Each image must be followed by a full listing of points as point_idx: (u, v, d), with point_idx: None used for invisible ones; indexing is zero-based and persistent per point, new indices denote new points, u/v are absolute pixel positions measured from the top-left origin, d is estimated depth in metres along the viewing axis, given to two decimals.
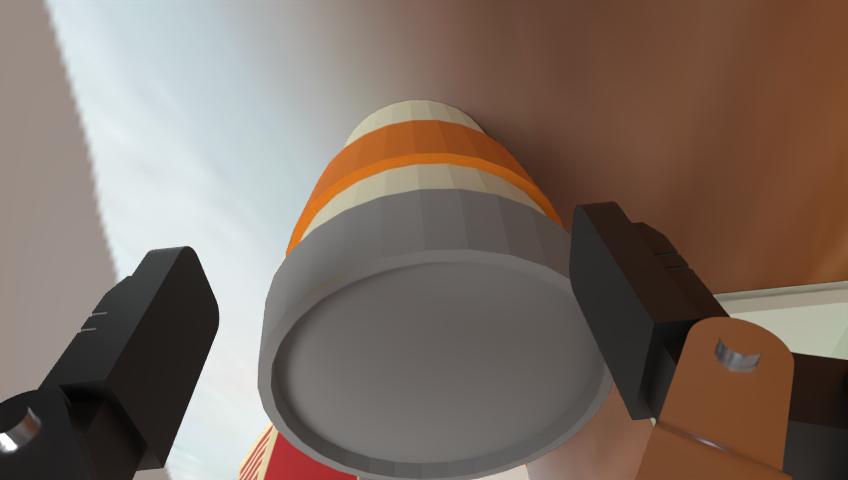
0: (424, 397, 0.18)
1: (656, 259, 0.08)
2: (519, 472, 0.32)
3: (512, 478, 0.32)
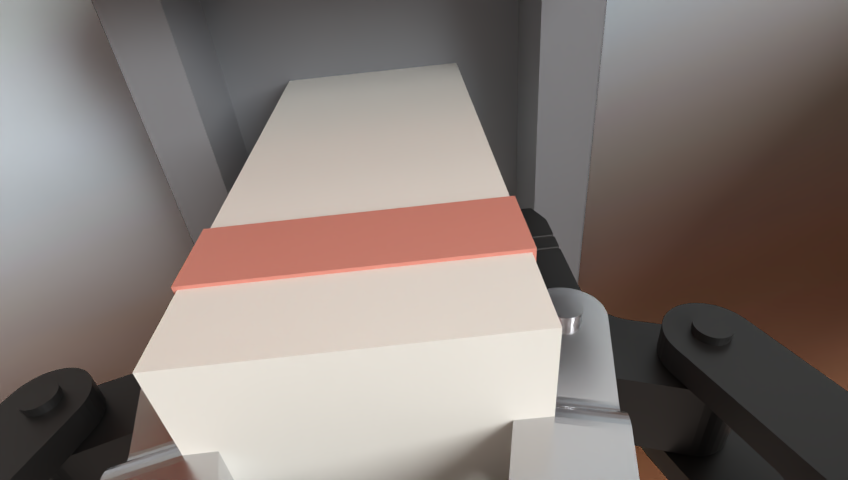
0: None
1: None
2: None
3: None
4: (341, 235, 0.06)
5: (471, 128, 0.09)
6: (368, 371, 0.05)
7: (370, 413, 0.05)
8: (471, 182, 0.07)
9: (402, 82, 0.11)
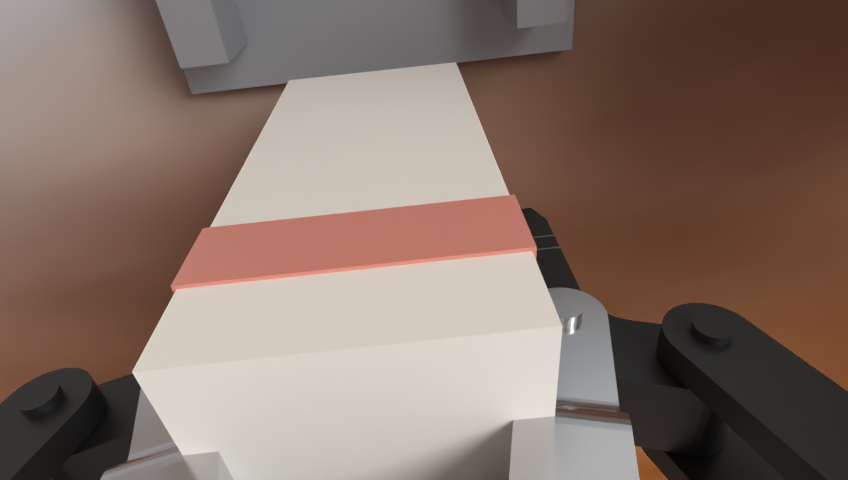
0: None
1: None
2: None
3: None
4: (341, 234, 0.06)
5: (471, 127, 0.09)
6: (368, 370, 0.05)
7: (370, 412, 0.05)
8: (471, 181, 0.07)
9: (402, 82, 0.11)
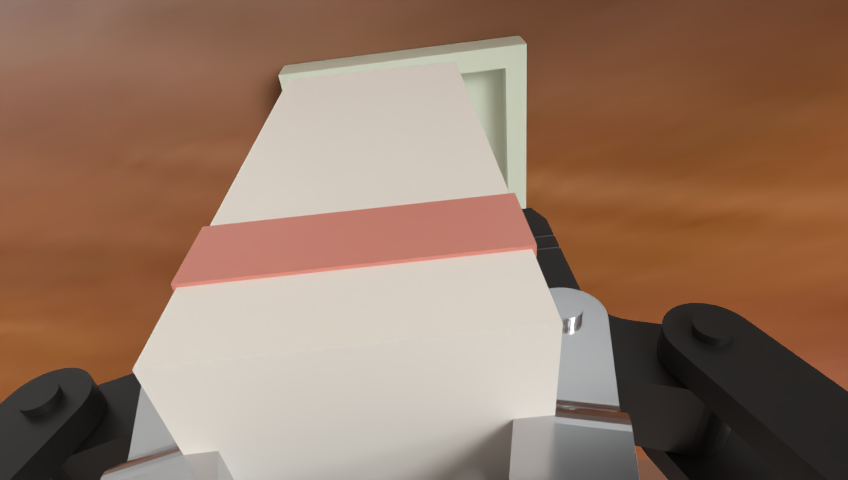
0: None
1: None
2: None
3: None
4: (341, 232, 0.06)
5: (471, 126, 0.09)
6: (368, 368, 0.05)
7: (370, 410, 0.05)
8: (471, 180, 0.07)
9: (401, 81, 0.11)
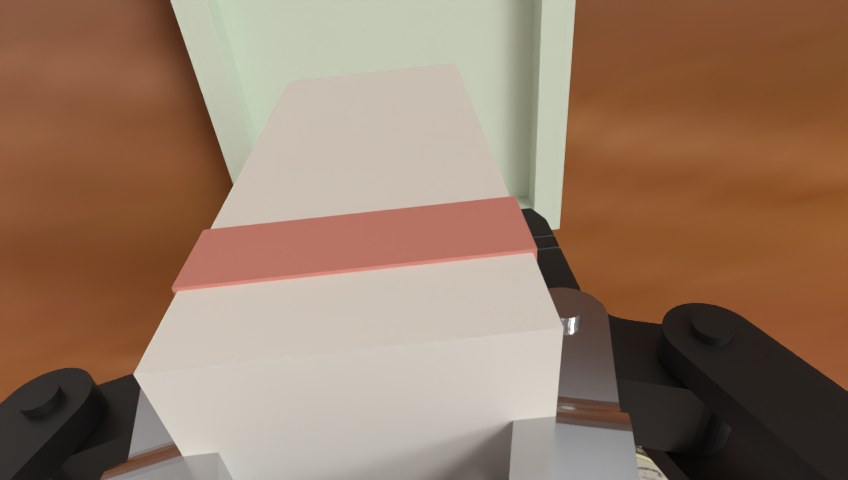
0: None
1: None
2: None
3: None
4: (342, 235, 0.06)
5: (471, 128, 0.09)
6: (369, 372, 0.05)
7: (371, 414, 0.05)
8: (471, 183, 0.07)
9: (402, 83, 0.11)
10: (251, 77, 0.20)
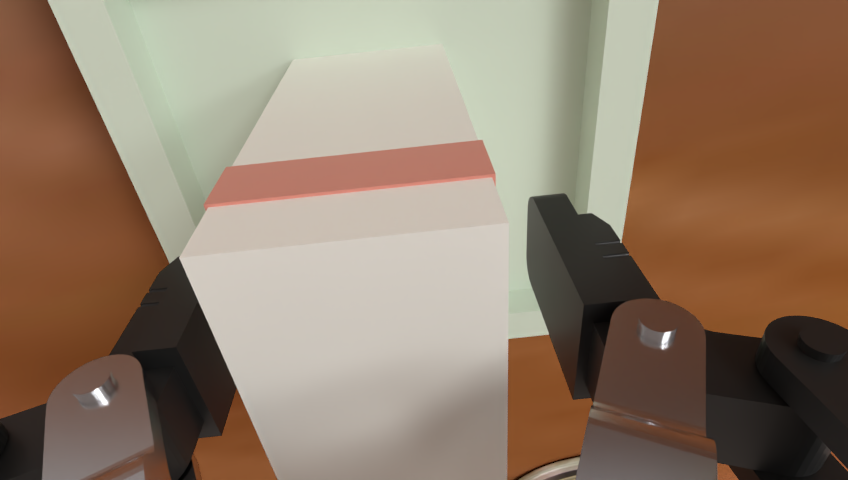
0: None
1: (595, 246, 0.09)
2: None
3: None
4: (339, 168, 0.08)
5: (451, 93, 0.10)
6: (360, 259, 0.06)
7: (362, 298, 0.07)
8: (447, 132, 0.09)
9: (393, 59, 0.13)
10: (199, 144, 0.15)
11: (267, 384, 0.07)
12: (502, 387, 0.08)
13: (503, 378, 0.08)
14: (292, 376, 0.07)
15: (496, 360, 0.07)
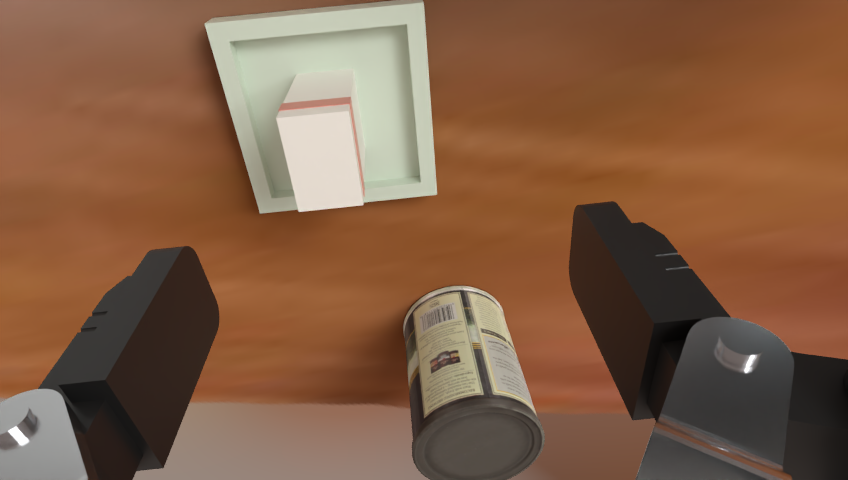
0: None
1: (656, 259, 0.08)
2: (362, 192, 0.32)
3: (361, 187, 0.31)
4: (312, 103, 0.30)
5: (348, 85, 0.32)
6: (316, 119, 0.28)
7: (317, 130, 0.29)
8: (343, 95, 0.31)
9: (334, 74, 0.35)
10: (257, 107, 0.37)
11: (293, 157, 0.29)
12: (354, 160, 0.30)
13: (354, 157, 0.30)
14: (299, 154, 0.29)
15: (351, 151, 0.30)
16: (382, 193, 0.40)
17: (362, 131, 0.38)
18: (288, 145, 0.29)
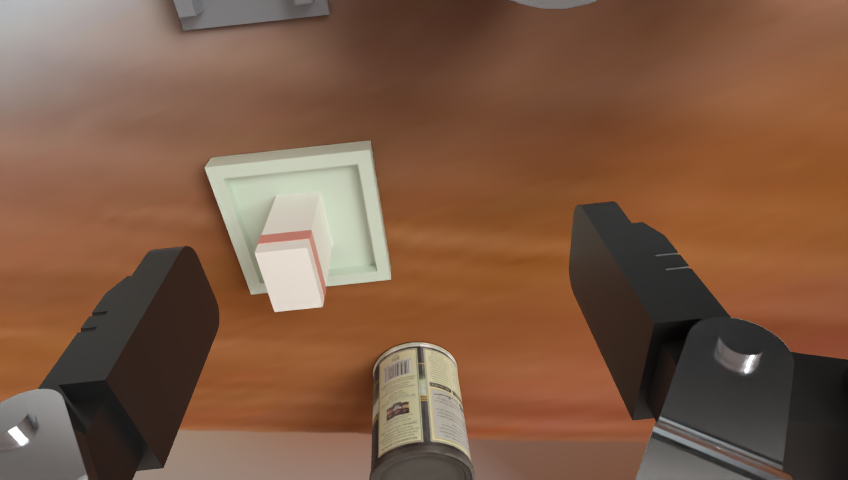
0: None
1: (656, 259, 0.08)
2: (322, 296, 0.42)
3: (320, 294, 0.42)
4: (282, 236, 0.40)
5: (312, 214, 0.43)
6: (283, 253, 0.39)
7: (284, 260, 0.39)
8: (306, 227, 0.41)
9: (304, 198, 0.45)
10: (247, 218, 0.47)
11: (268, 277, 0.40)
12: (314, 278, 0.40)
13: (313, 276, 0.40)
14: (273, 275, 0.40)
15: (311, 272, 0.40)
16: (347, 279, 0.50)
17: (329, 234, 0.48)
18: (264, 269, 0.40)
